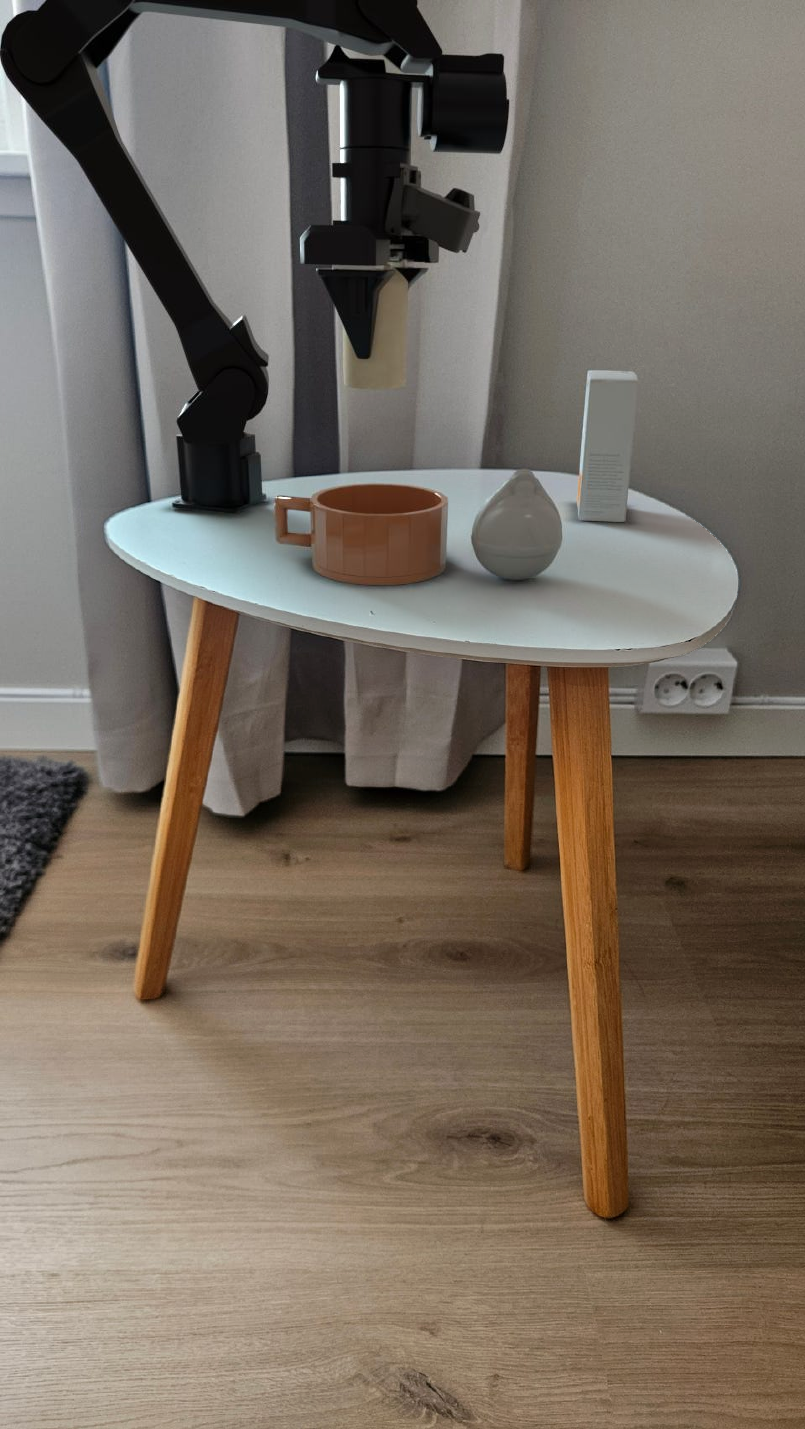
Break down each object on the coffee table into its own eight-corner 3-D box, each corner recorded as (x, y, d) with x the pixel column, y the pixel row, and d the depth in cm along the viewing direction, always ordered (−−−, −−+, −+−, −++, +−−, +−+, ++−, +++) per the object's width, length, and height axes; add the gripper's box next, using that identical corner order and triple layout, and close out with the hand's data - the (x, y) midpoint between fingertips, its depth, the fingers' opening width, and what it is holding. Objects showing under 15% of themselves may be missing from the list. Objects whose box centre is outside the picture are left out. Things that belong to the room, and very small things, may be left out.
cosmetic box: (575, 504, 93) (587, 369, 88) (621, 506, 92) (636, 371, 87) (576, 521, 87) (589, 378, 82) (625, 523, 87) (641, 379, 82)
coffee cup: (461, 554, 78) (464, 490, 75) (421, 592, 69) (423, 521, 67) (303, 536, 82) (301, 475, 79) (246, 570, 73) (243, 502, 71)
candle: (400, 391, 85) (402, 263, 81) (337, 388, 86) (336, 261, 82) (410, 383, 90) (413, 262, 86) (351, 381, 91) (350, 260, 87)
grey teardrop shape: (542, 561, 76) (550, 455, 73) (570, 589, 70) (580, 475, 66) (458, 564, 75) (462, 456, 72) (479, 593, 69) (485, 477, 66)
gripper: (441, 139, 70) (434, 372, 77) (498, 159, 86) (489, 350, 93) (294, 140, 73) (300, 364, 80) (377, 159, 89) (376, 345, 96)
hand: (374, 355), depth 87 cm, fingers closed on candle, 5 cm apart
